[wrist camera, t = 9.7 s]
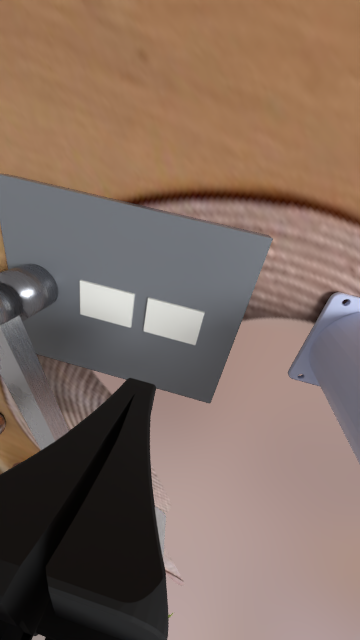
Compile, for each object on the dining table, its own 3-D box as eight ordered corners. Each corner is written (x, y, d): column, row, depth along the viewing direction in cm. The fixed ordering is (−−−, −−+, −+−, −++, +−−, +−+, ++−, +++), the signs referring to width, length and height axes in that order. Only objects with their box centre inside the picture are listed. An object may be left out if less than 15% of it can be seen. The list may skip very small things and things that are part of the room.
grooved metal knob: (68, 265, 19) (27, 281, 15) (70, 303, 21) (33, 327, 17) (28, 254, 19) (-22, 268, 15) (33, 293, 21) (-11, 314, 17)
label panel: (268, 235, 15) (273, 239, 14) (211, 391, 23) (210, 405, 21) (10, 174, 17) (-11, 172, 15) (33, 341, 24) (20, 351, 22)
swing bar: (83, 451, 23) (70, 474, 21) (58, 448, 23) (43, 470, 22) (12, 280, 15) (-19, 292, 13) (-23, 281, 16) (-57, 293, 14)
